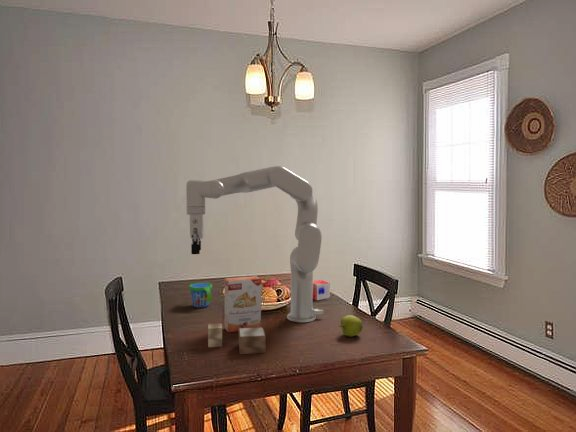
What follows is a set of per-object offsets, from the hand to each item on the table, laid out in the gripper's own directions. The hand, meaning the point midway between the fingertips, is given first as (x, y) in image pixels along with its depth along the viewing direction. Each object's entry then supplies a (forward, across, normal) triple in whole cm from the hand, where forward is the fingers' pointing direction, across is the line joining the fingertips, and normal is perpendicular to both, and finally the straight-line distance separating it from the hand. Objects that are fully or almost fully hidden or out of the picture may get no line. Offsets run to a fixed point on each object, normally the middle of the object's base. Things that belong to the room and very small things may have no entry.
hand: (196, 252), depth 189 cm
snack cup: (+31, +27, 0) cm, 41 cm away
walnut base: (+30, -30, -21) cm, 48 cm away
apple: (+30, -21, -60) cm, 71 cm away
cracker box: (+31, -8, -19) cm, 37 cm away
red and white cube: (+31, +36, -59) cm, 76 cm away
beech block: (+31, -24, -8) cm, 40 cm away
